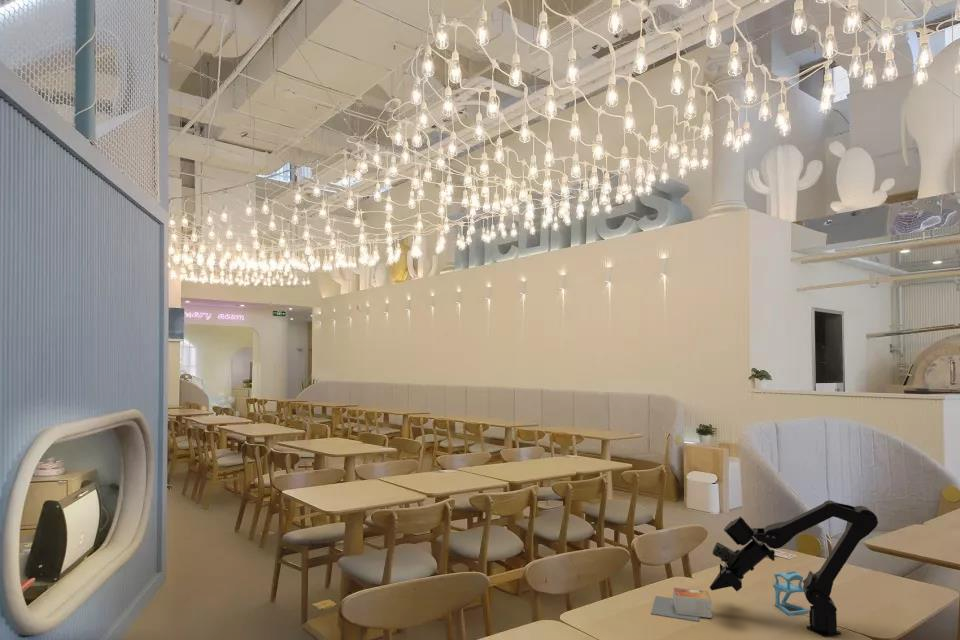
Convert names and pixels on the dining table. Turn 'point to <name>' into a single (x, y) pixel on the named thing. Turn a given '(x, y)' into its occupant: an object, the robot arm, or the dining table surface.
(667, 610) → the mat
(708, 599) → the small box
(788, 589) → the chair
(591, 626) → the dining table surface
